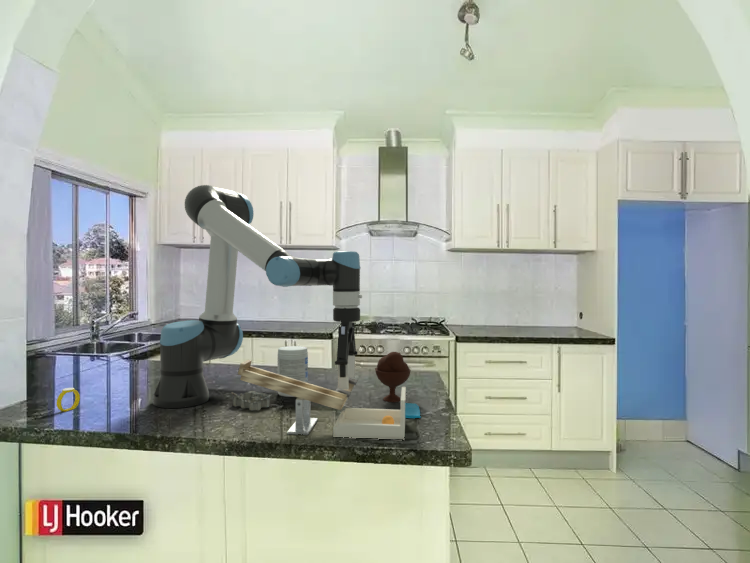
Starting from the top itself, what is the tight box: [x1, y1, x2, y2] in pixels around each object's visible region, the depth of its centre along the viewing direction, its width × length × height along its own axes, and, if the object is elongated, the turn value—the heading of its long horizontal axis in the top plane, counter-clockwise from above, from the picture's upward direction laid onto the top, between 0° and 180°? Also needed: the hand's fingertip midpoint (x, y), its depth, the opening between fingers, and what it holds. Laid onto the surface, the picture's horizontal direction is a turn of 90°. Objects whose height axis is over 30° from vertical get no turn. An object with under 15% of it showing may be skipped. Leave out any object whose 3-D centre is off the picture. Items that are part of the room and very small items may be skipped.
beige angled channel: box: [237, 359, 358, 411], centre depth 124 cm, size 28×26×4 cm
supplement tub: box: [277, 345, 309, 398], centre depth 145 cm, size 10×10×15 cm
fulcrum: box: [286, 397, 319, 436], centre depth 113 cm, size 5×11×8 cm, turn 175°
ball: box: [382, 416, 394, 424], centre depth 112 cm, size 3×3×3 cm
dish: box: [332, 386, 407, 441], centre depth 112 cm, size 17×13×9 cm
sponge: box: [405, 402, 422, 419], centre depth 127 cm, size 2×12×6 cm
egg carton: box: [231, 390, 273, 411], centre depth 132 cm, size 11×8×4 cm
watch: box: [56, 387, 81, 413], centre depth 125 cm, size 6×3×6 cm, turn 165°
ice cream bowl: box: [374, 351, 411, 403], centre depth 139 cm, size 11×11×15 cm
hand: (347, 383), depth 126 cm, fingers open, 13 cm apart
